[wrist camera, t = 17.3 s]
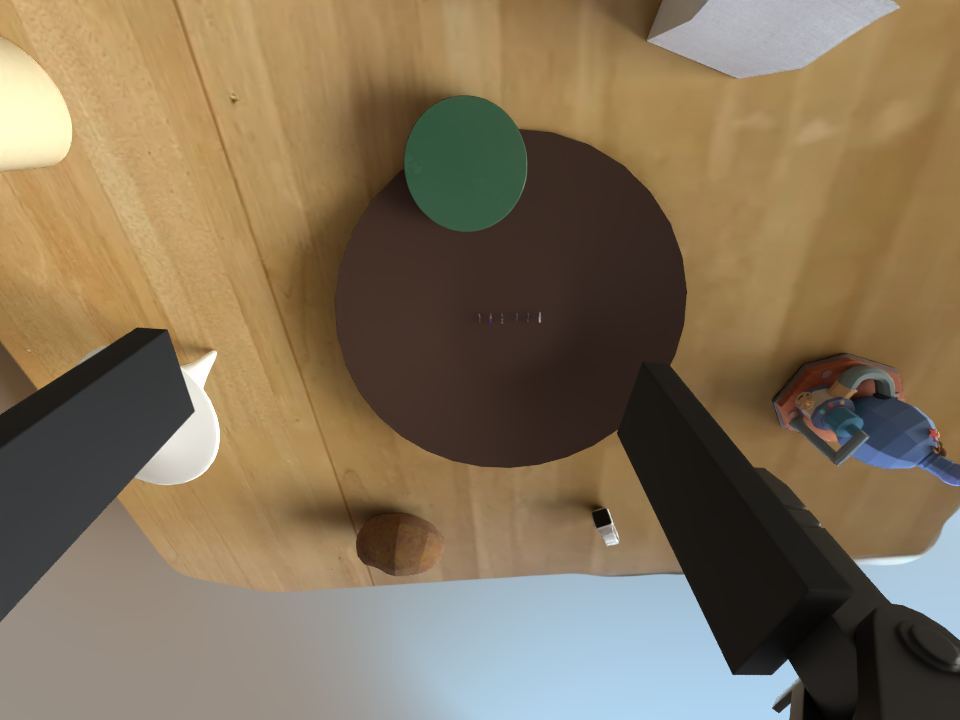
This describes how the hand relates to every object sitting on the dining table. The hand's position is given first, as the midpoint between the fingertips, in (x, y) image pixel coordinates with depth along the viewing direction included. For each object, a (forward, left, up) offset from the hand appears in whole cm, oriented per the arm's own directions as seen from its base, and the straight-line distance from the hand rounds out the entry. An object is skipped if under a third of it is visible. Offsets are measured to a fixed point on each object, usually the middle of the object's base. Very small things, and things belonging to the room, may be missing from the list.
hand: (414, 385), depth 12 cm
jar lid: (-4, 0, -20) cm, 20 cm away
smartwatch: (+27, +25, -22) cm, 43 cm away
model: (+6, +41, -22) cm, 47 cm away
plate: (+6, +7, -22) cm, 24 cm away
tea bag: (-16, +13, -22) cm, 30 cm away
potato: (+34, +3, -22) cm, 41 cm away
